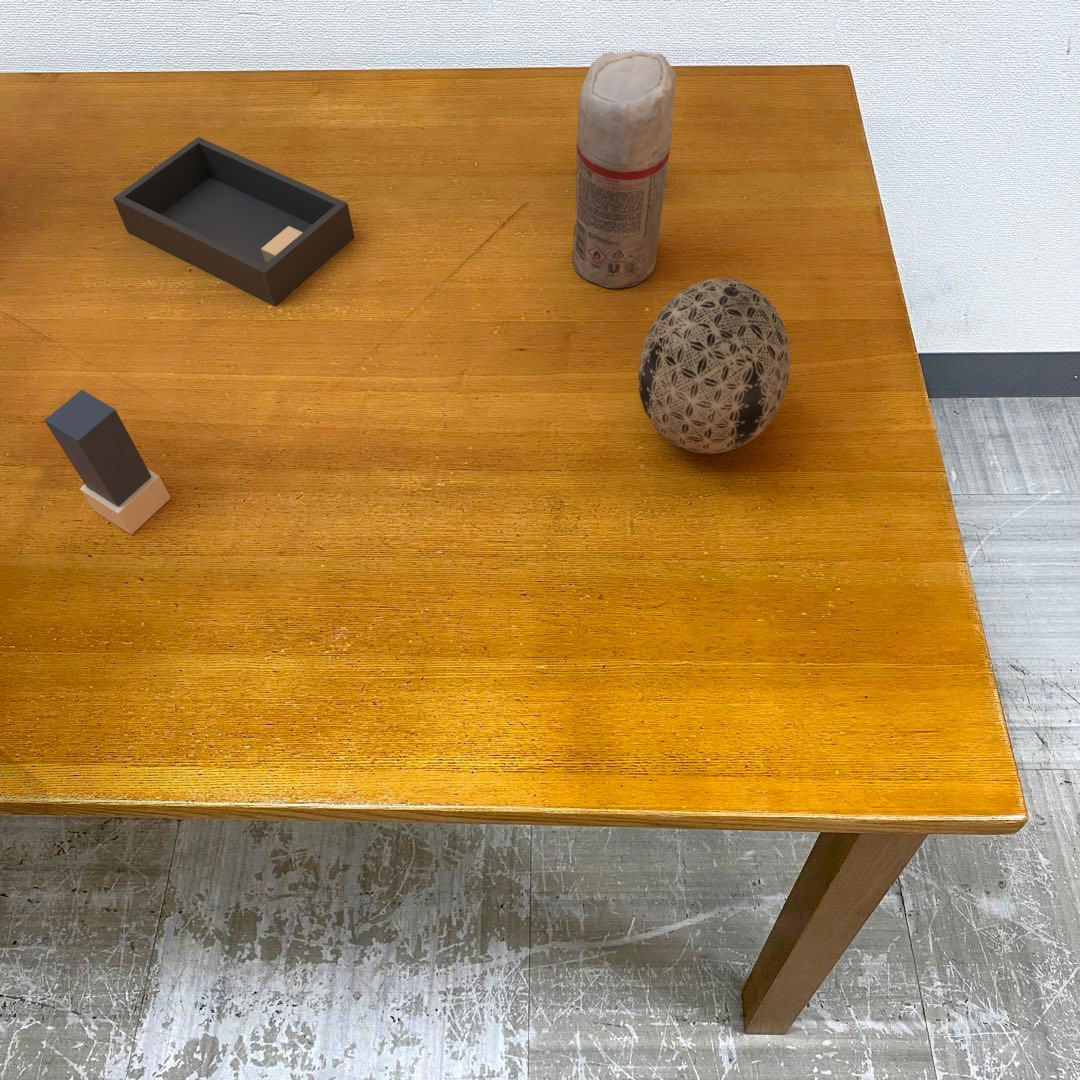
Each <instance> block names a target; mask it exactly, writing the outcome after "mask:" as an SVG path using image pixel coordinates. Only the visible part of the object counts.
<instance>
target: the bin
mask: <svg viewBox="0 0 1080 1080" xmlns="http://www.w3.org/2000/svg"><path fill="white" fill-rule="evenodd" d="M112 200H113V202H114V204H115V207H116V209H117V211H118V214H119V216H120V218H121V221H122V223H123V225H124V228H125V230H126V232H127V233H128V234H130V235H131V236H133V237H136V238H138V239H140V240H142V241H143V242H146V243H147V244H150V245H152V246H154V247H156V248H158V249H159V250H161V251H163V252H166V253H168V254H169V255H171V256H173V257H176V258H177V259H179V260H181V261H183V262H185V263H187V264H189V265H191V266H193V267H195V268H197V269H199V270H201V271H203V272H205V273H207V274H209V275H211V276H213V277H215V278H216V279H219V280H221V281H223V282H225V283H227V284H229V285H231V286H233V287H235V288H237V289H239V290H241V291H243V292H244V293H247V294H248V295H251V296H252V297H255V298H257V299H259V300H260V301H263V302H265V303H266V304H269V305H271V306H273V307H277V306H278V305H279V304H281V302H283V301H284V300H285V299H286V298H287V297H288V296H290V295H291V294H292V293H293V292H294V291H295V290H297V289H298V288H299V287H301V285H302V284H303V283H305V282H306V281H307V280H308V279H309V278H310V277H311V276H313V275H314V273H316V272H317V271H318V270H320V268H322V267H323V266H324V265H325V264H327V262H328V261H330V260H331V259H332V258H333V257H334V256H335V255H337V253H339V252H340V251H341V250H342V249H344V248H345V247H346V246H347V245H348V244H350V243H351V241H353V240H354V239H355V232H354V227H353V223H352V217H351V214H350V209H349V204H348V202H346V201H344V200H342V199H339V198H337V197H334V196H332V195H330V194H328V193H325V192H323V191H321V190H319V189H317V188H314V187H312V186H310V185H308V184H306V183H303V182H301V181H299V180H296V179H294V178H292V177H290V176H287V175H285V174H283V173H280V172H278V171H276V170H274V169H272V168H269V167H268V166H265V165H263V164H260V163H258V162H256V161H254V160H252V159H250V158H247V157H245V156H242V155H240V154H238V153H235V152H233V151H232V150H229V149H228V148H224V147H222V146H221V145H217V144H215V143H213V142H212V141H209V140H206V139H204V138H202V137H200V136H197V137H196V138H194V139H193V140H192V141H190V142H188V143H187V144H186V145H185V146H183V147H182V148H180V149H178V150H177V151H176V152H175V153H173V154H172V155H171V156H169V157H168V158H166V159H165V160H164V161H162V162H161V163H160V164H158V165H156V166H154V168H153V169H151V170H150V171H149V172H147V173H146V174H144V175H142V176H141V177H140V178H139V179H137V180H136V181H134V182H133V183H132V184H130V185H129V186H127V187H126V188H124V189H123V190H122V191H120V192H119V193H117V195H115V196H113V197H112ZM288 226H290V227H292V228H295V229H297V230H299V231H301V232H303V233H302V234H301V235H299V236H298V237H297V238H296V239H295V240H293V241H292V242H291V243H290V244H289V245H287V246H286V247H285V248H284V249H283V250H281V251H280V252H279V253H278V254H277V255H275V256H274V257H273V258H272V259H271V260H270V261H268V262H265V260H264V257H263V254H262V250H261V248H262V247H264V246H265V245H266V244H267V243H268V242H270V241H271V240H272V239H273V238H274V237H276V236H277V235H278V234H279V233H281V232H282V231H283V230H284V229H285V228H287V227H288Z"/></svg>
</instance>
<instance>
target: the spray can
mask: <svg viewBox="0 0 1080 1080" xmlns="http://www.w3.org/2000/svg"><path fill="white" fill-rule="evenodd" d="M676 87H677V74H676V72H675V70H674V69H673V67H672V66H671V64H670V62H669V61H668V59H667V58H666V56H664V55H663V54H661V53H658V52H645V51H640V50H635V49H632V50H630V51H627V52H625V51H624V52H617V53H615V52H613V51H611V52H605V53H604V52H603V54H602V55H601V56H599V57H598V58H596V59H595V60H594V61H592V62H591V64H590V65H589V69H588V72H587V74H586V76H585V79H584V82H583V84H582V87H581V90H580V93H579V99H578V105H579V106H578V108H577V129H576V175H575V180H576V185H575V224H574V229H573V251H572V252H571V259H572V264H573V268H574V270H575V271H576V273H577V274H578V275H580V277H582V279H585V280H587V281H589V282H591V283H593V284H595V285H598V286H601V287H604V288H607V289H621V288H622V289H624V288H631V287H633V286H637V285H639V284H640V283H642V282H643V281H645V280H646V279H647V278H649V277H650V275H652V273H653V272H654V271H655V269H656V265H657V264H656V263H657V257H658V252H657V250H658V245H659V237H660V231H661V224H662V214H663V205H664V200H665V192H666V183H667V176H668V169H669V168H668V167H669V158H670V152H671V148H672V141H673V123H674V106H675V94H676Z"/></svg>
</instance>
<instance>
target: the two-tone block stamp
mask: <svg viewBox="0 0 1080 1080" xmlns="http://www.w3.org/2000/svg"><path fill="white" fill-rule="evenodd" d="M44 422H45V424H46V425H47V427H48V429H49V430H50V433H51V434H52V436H53V437H54V438H55V440H56V441H57V443H58V444H59V446H60V447H61V449H62V451H63V453H64V454H65V455H66V457H67V459H68V460H69V462H70V463H71V465H72V467H73V468H74V470H75V471H76V473H77V474H78V476H79V477H80V479H81V481H82V483H83V485H82V486H81V487H80V488H79V490H80V492H81V493H82V495H83V496H84V498H85V499H86V501H87V502H88V504H89V505H90V507H91V509H92V510H93V512H94V513H97V514H98V515H100V516H101V517H103V518H104V519H106V520H107V521H109V522H111V523H112V524H114V525H115V526H117V527H118V528H120V529H122V530H123V531H124V532H125V533H127V534H129V535H133V534H135V532H136V531H138V530H139V528H141V527H142V526H143V525H144V524H145V523H146V522H147V521H148V520H149V519H150V518H151V517H153V516H154V514H156V512H158V511H159V510H160V509H161V508H162V507H164V506H165V504H167V502H169V501H170V500H171V498H172V497H171V495H170V493H169V491H168V490H167V488H166V485H165V484H164V482H163V480H162V478H161V476H160V475H159V474H157V473H156V472H154V471H152V470H151V469H149V468H148V467H147V465H146V463H145V461H144V459H143V457H142V456H141V454H140V451H139V450H138V448H137V446H136V445H135V443H134V441H133V439H132V437H131V436H130V433H129V432H128V430H127V428H126V426H125V424H124V422H123V420H122V419H121V417H120V415H119V414H118V412H117V410H116V408H114V407H113V406H111V405H109V404H107V403H106V402H104V401H102V400H101V399H98V398H97V397H95V396H94V395H92V394H91V393H88V392H87V391H85V390H84V389H80V390H79V391H78V392H77V393H76V394H74V395H73V396H72V397H71V398H70V399H68V400H67V401H65V403H63V404H61V406H60V407H58V408H57V409H56V410H54V411H53V412H52V413H51V414H50V415H49V416H47V417H46V418H44Z"/></svg>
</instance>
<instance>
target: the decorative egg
mask: <svg viewBox="0 0 1080 1080" xmlns="http://www.w3.org/2000/svg"><path fill="white" fill-rule="evenodd" d="M640 352H641V353H640V357H639V363H638V371H637V377H638V378H637V383H638V393H639V398H640V401H641V405H642V407H643V410H644V413H645V415H646V416H647V418H648V420H649V421H650V423H651V424H652V426H653V427H654V429H655V430H656V431H657V433H659V434H660V435H661V437H663V438H664V439H665V440H666V441H668V442H669V443H671V444H672V445H674V446H676V447H678V448H680V449H683V450H685V451H687V452H691V453H696V454H705V455H715V454H716V455H717V454H722V453H728V452H730V451H731V452H732V451H733V450H736V449H739V448H741V447H743V446H745V445H747V444H748V443H750V442H751V441H752V440H754V439H755V438H756V437H758V436H759V435H760V434H761V433H762V432H763V431H764V430H765V429H766V428H767V427H768V426H769V424H770V423H771V422H772V420H773V419H774V417H775V416H776V414H777V412H778V411H779V409H780V407H781V405H782V402H783V400H784V398H785V394H786V392H787V387H788V384H789V378H790V372H791V371H790V370H791V369H790V368H791V354H790V353H791V352H790V342H789V337H788V334H787V330H786V327H785V324H784V322H783V320H782V318H781V315H780V314H779V313H778V311H777V309H776V308H775V306H774V304H773V303H772V302H771V301H770V300H769V299H768V297H767V296H765V295H764V293H762V292H761V291H760V290H758V289H757V288H755V287H754V286H752V285H751V284H749V283H746V282H745V281H742V280H739V279H733V278H729V277H727V278H725V277H724V278H723V277H722V278H718V277H717V278H710V279H705V280H702V281H699V282H696V283H694V284H692V285H690V286H688V287H686V288H685V289H683V290H682V291H680V292H678V293H677V294H676V295H675V296H674V297H672V298H671V299H670V300H669V301H668V302H667V303H666V304H665V306H664V307H662V309H661V310H660V311H659V312H658V313H657V316H656V317H655V319H654V321H653V323H652V324H651V326H650V329H649V331H648V332H647V334H646V337H645V340H644V342H643V346H642V349H641V351H640Z"/></svg>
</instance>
